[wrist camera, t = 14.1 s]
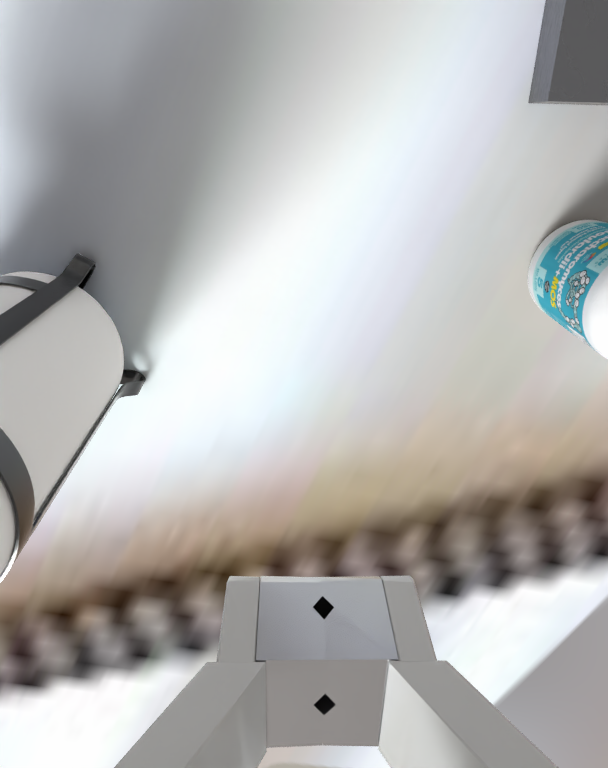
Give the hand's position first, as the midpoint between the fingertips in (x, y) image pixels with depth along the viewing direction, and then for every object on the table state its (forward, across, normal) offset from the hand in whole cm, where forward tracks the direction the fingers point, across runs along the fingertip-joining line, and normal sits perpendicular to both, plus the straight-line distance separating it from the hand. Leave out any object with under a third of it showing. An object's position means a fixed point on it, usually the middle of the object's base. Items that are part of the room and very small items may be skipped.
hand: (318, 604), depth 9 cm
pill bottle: (+34, -21, +2) cm, 40 cm away
